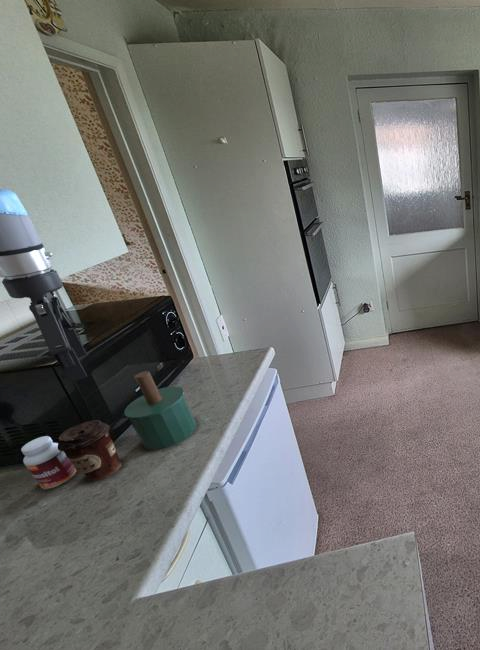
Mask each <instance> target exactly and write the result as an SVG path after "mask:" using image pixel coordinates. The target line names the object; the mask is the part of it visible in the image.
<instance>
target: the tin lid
mask: <svg viewBox="0 0 480 650" xmlns="http://www.w3.org/2000/svg"><path fill="white" fill-rule="evenodd" d="M133 377H134V379H135V382H136V384H137V385H138V388H139V389H140V391H141V393H142V395H141V396H139V397H137V398H136V399H134V400H133V401H131V402H130V403H129V404H128V405H126V407H125V409H124V411H123V412H124V413H123V414H124V417H126V418H127V419H128V420H129V419H144V418H148V417H152V416H155V415H157V414H160V413H162V412H164V411H166V410H168V409H170V408H172V407H173V406H175V405H176V404H177V403H178V402H180V401H181V399H182V398H183V397H184V398H185V389H184V388H182V387H181V386H165V387H162V388H158V387H157V385H156V383H155V380H154V378H153V376H152V375H151V372H150V371H148V370H144V371H140V372H138V373H137V374H135V375H134V376H133Z"/></svg>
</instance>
